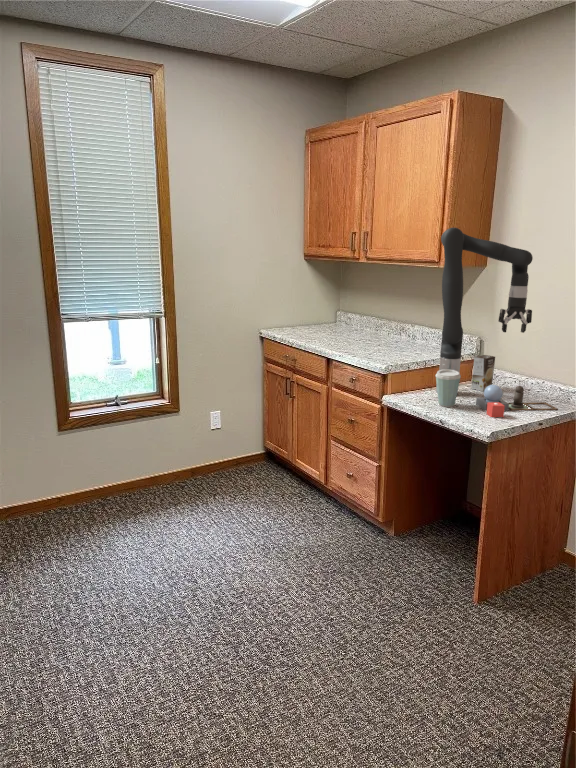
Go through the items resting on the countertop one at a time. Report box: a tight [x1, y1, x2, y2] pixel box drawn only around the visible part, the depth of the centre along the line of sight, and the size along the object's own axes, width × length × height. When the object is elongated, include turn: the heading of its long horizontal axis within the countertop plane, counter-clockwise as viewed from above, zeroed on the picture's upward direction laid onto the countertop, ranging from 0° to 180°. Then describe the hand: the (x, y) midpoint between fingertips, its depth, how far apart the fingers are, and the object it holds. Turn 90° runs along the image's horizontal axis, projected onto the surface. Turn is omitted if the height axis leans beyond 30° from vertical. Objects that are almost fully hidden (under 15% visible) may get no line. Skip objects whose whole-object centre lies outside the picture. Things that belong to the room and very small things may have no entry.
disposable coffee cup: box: [435, 369, 462, 408], centre depth 243 cm, size 11×11×15 cm
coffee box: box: [470, 354, 496, 392], centre depth 272 cm, size 9×6×16 cm
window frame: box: [507, 401, 559, 412], centre depth 244 cm, size 21×10×1 cm, turn 94°
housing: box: [475, 397, 509, 412], centre depth 242 cm, size 10×10×3 cm
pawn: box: [511, 385, 525, 408], centre depth 242 cm, size 5×5×9 cm
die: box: [486, 402, 505, 419], centre depth 230 cm, size 5×5×5 cm
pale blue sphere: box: [483, 384, 504, 402], centre depth 241 cm, size 8×8×9 cm
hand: (513, 332), depth 254 cm, fingers open, 8 cm apart
